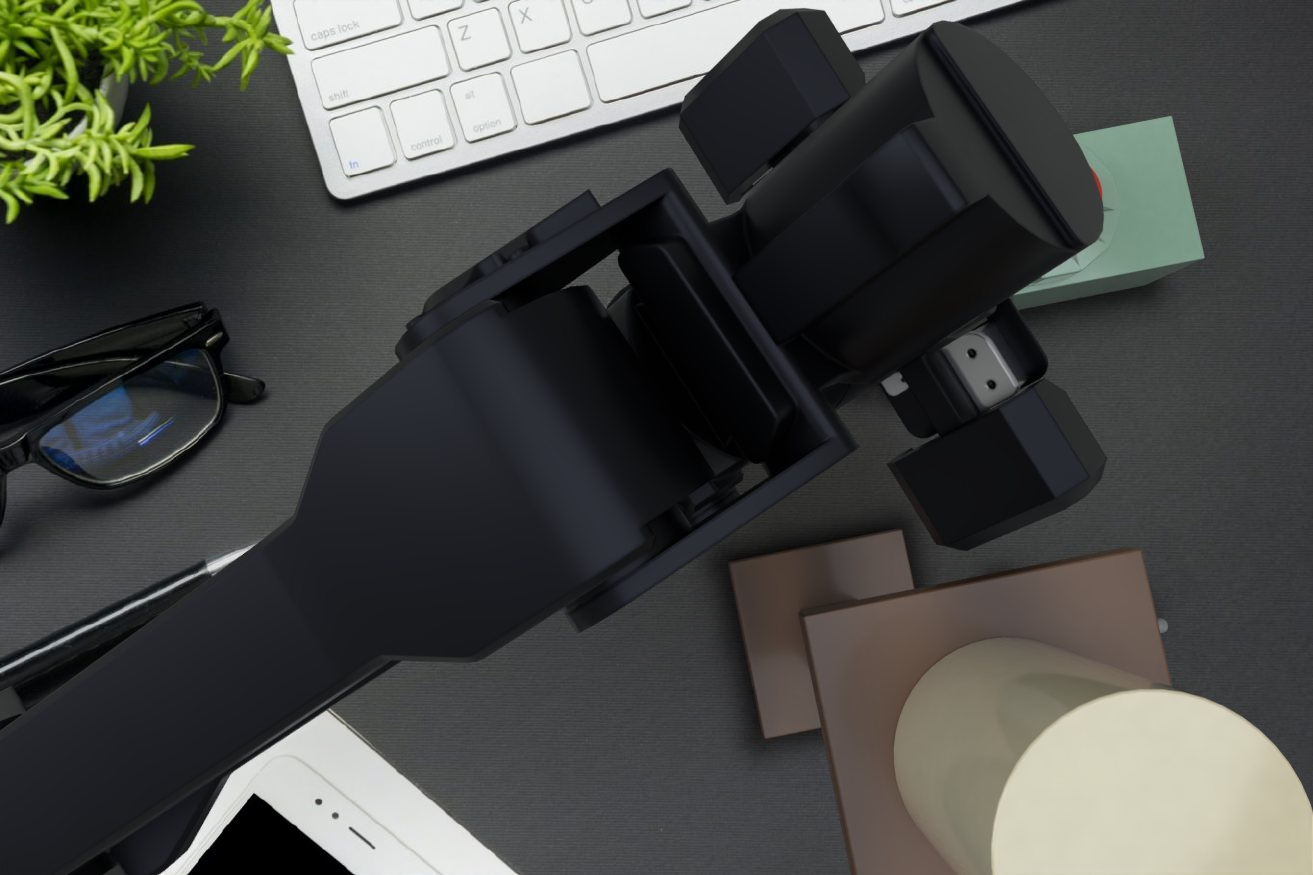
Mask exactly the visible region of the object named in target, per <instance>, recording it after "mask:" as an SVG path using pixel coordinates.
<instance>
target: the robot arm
mask: <svg viewBox="0 0 1313 875" xmlns="http://www.w3.org/2000/svg"><path fill="white" fill-rule="evenodd" d="M678 116H679V118H678V130H679V131H680V132H681V134H682V136H683V137H684V139H685V141H686V142H687V144H688V145H689V147H690V149H691V150H692V152H693V153H694V155H695V157H696V159H697V160H698V162H699V163H700V166H702V168H703V170H704V171H705V173H706V175H707V176H708V178H709V179H710V181H711V183H712V185H713V186H714V188H715V189H716V191H717V193H718V194H719V195H720V197H721V199H722V200H723V202H724V203H725V205H726V206H729V205H732V204H735V203H736V205H735V206H734V208H733V210H732V211H731V214H729V215H726V216H723V217H720V218H718V219H714V220H712V221H709V220H708V219H707V217H706V216H705V215H704V213H703V211H702V210H701V209H700V207H699V206H698V204H697V203H696V201H695V200H694V198H693V197H692V195H691V194H690V192H689V191H688V190H687V188H686V186H685V185H684V184H683V182H682V180H681V179H680V178H679V175H678V174H677V173H676V172H675V170H674V169H673V167H666V168H663V169H662V170H659V171H658V172H656V173H655V174H654V175H652V176H650V177H648V178H646V179H645V180H643V181H641V182H640V183H638V184H637V185H635V186H633V187H631V188H630V189H628V190H627V191H625V192H623V193H621V194H619V195H618V196H616V197H615V198H613V199H612V200H610V201H608V202H606V203H605V204H602V205H600V203H599V201H598V199H596V197H595V195H594V194H593V193H592V191H591V190H590V189H586V190H585V191H583V192H582V193H580V194H578V195H577V196H576V197H574V198H573V199H571V200H569V201H568V202H567V203H565V204H564V205H563V206H561V207H560V208H558V209H557V210H555V211H553V212H552V213H550V214H549V215H547V216H546V217H544V218H543V219H541V220H540V221H539V222H537V223H535V224H534V225H533V226H531V227H530V228H528V229H527V230H525V231H523V232H522V233H520V234H519V235H517V236H516V237H514V238H513V239H511V240H510V241H508V242H507V243H506V244H504V245H502V246H501V247H499V248H497V249H496V250H495V251H493V252H491V253H490V254H489V255H487V256H486V257H484V258H483V259H481V260H480V261H478V262H477V263H475V264H474V265H472V266H471V267H469V268H468V269H467V270H465V271H463V272H462V273H460V274H458V275H456V277H454V278H452V280H450V281H449V282H447V283H445V284H444V285H443V286H441V287H440V288H438V289H437V290H435V291H434V292H433V293H432V294H430V296H429V297H428V298H426V300H425V302H424V304H423V308H422V311H421V313H420V314H418V315H416V316H415V317H413V318H411V319H410V320H409V321H408V322H407V323H406V325H405V327H404V328H406V331H405V332H404V333H403V334H402V335H401V336H400V338H399V339H398V342H396V344H395V346H394V354H395V356H396V358H397V359H398V362H397V363H396V364H394V365H393V366H392V367H391V368H390V369H388V370H387V371H386V372H385V373H384V374H383V375H381V376H380V377H379V378H378V379H376V380H375V381H374V382H373V383H372V384H370V385H369V386H368V387H367V388H366V389H365V390H363V391H362V392H361V393H360V394H359V395H357V396H356V397H355V398H354V399H353V400H351V401H350V402H349V403H348V404H347V405H345V406H344V407H343V408H342V409H341V410H339V411H338V412H337V413H336V414H335V415H334V416H332V417H331V418H330V419H329V420H328V421H327V422H326V423H325V425H324V426H323V428H322V430H321V432H320V434H319V436H318V440H317V443H316V446H315V449H314V452H313V455H312V458H311V461H310V465H309V467H308V469H307V473H306V477H305V479H304V482H303V486H302V488H301V492H300V495H299V497H298V500H297V504H296V507H295V510H294V512H293V515H292V516H290V517H289V518H287V519H286V520H285V521H284V522H282V523H281V524H280V525H279V526H278V527H276V528H275V529H274V530H273V531H272V532H270V533H269V534H268V535H266V536H264V538H263V539H261V540H259V542H257V543H256V544H255V545H253V546H251V548H249V549H248V550H246V551H244V553H242V554H241V555H239V556H238V557H237V558H235V559H234V560H232V561H231V562H230V563H229V564H227V565H226V566H225V567H223V568H221V569H220V570H219V571H217V572H216V573H215V574H213V575H212V576H211V577H209V578H207V579H206V580H205V581H204V582H203V583H201V584H199V585H198V586H196V587H195V588H194V589H192V590H191V591H190V592H188V593H186V595H184V596H183V597H181V598H180V599H179V600H178V601H176V602H175V603H174V604H172V605H170V606H169V607H168V608H166V609H165V610H163V611H162V612H161V613H160V614H158V615H157V616H155V617H154V618H153V619H151V620H150V621H149V622H147V623H146V624H145V625H143V626H142V627H140V628H139V629H138V630H137V631H135V632H133V633H132V634H131V635H129V636H128V637H127V638H125V639H123V641H121V642H120V643H118V644H117V645H115V646H114V647H113V648H112V649H110V650H109V651H107V652H106V653H104V654H103V655H102V656H101V657H99V658H98V659H96V660H95V661H94V662H92V663H91V664H90V665H88V666H87V667H85V668H84V669H83V670H81V671H80V672H79V673H77V674H75V675H74V676H73V677H72V678H70V679H69V680H68V681H66V682H65V683H64V684H62V685H61V686H59V687H58V688H57V689H54V690H53V691H52V692H51V693H49V694H48V695H46V696H44V697H42V698H40V699H38V700H37V701H35V702H33V703H31V704H29V705H28V706H26V705H25V703H24V701H23V700H22V698H21V697H20V696H19V694H18V692H17V691H16V690H15V688H14V687H13V685H9V686H8V687H6V688H4V689H3V690H0V875H161V874H162V873H164V872H165V871H166V870H168V869H169V868H170V867H171V866H172V865H173V864H174V863H175V862H176V861H178V860H179V859H180V858H182V856H183V855H184V854H186V853H187V852H188V851H189V849H190V848H191V847H192V845H193V843H194V842H195V840H196V837H197V836H198V834H199V833H200V831H201V828H203V825H204V823H205V821H206V819H207V818H208V816H209V814H210V812H211V811H212V809H213V807H214V805H215V803H216V801H217V800H218V798H219V796H220V795H221V793H222V791H223V790H224V787H225V785H226V784H227V782H228V781H229V779H230V777H231V775H232V774H233V773H234V772H236V771H237V770H239V769H240V768H242V767H243V766H245V765H246V764H247V763H249V762H251V761H252V760H254V759H255V758H257V757H258V756H259V755H262V754H263V753H265V752H266V751H267V750H269V749H271V748H272V747H274V746H275V745H276V744H278V743H280V742H281V741H282V740H284V739H286V738H287V737H289V736H290V735H293V733H295V732H297V731H298V730H299V729H301V728H302V727H304V726H306V725H308V723H310V722H311V721H313V720H315V719H317V717H319V716H321V715H322V714H323V713H326V712H327V711H329V710H330V709H331V708H333V707H335V706H336V705H337V704H339V703H340V702H342V701H343V700H345V699H346V698H348V697H350V696H351V695H353V694H354V693H356V692H357V691H359V690H360V689H362V688H364V687H365V686H366V685H368V684H369V683H371V682H373V681H374V680H376V679H378V677H380V676H381V675H383V674H384V673H386V672H388V671H389V670H391V669H392V668H394V667H395V666H397V665H398V664H400V663H401V662H426V663H428V662H429V663H451V664H452V663H453V664H454V663H456V664H472V663H473V664H474V663H477V662H480V661H482V660H484V659H486V658H487V657H490V656H491V655H493V654H494V653H495V652H497V651H498V650H500V649H502V648H503V647H505V646H506V645H509V643H511V642H512V641H514V640H516V639H517V638H519V637H521V635H523V634H525V633H527V632H528V631H529V630H532V629H533V628H534V627H536V626H537V625H539V624H541V623H542V622H544V621H546V620H547V619H549V618H550V617H551V616H553V615H554V614H556V613H558V612H560V611H562V613H563V615H564V617H565V618H566V620H567V621H568V623H569V624H570V625H571V627H572V629H573V631H574V632H575V634H580V633H583V632H584V631H587V630H589V629H590V628H592V627H593V626H595V625H597V624H599V623H600V622H602V621H604V620H605V619H607V618H608V617H610V616H612V615H613V614H615V613H616V612H618V611H620V610H621V609H623V608H624V607H626V606H627V605H629V604H631V603H632V602H634V601H635V600H636V599H638V598H640V597H641V596H643V595H644V594H646V593H647V592H648V591H650V590H651V589H653V588H655V587H656V586H657V585H660V583H662V582H663V581H665V580H666V579H668V578H669V577H671V576H673V574H676V573H677V572H678V571H680V570H681V569H682V568H684V567H686V566H688V564H690V563H691V562H693V561H694V560H696V559H697V558H699V557H701V556H702V555H703V554H704V553H706V552H708V551H710V549H713V547H715V546H717V545H718V544H720V543H721V542H722V541H724V540H726V539H727V538H729V537H731V535H733V534H734V533H736V532H737V531H739V530H740V529H742V528H743V527H745V526H746V525H748V524H749V523H750V522H752V521H754V520H755V519H756V518H758V517H759V516H761V515H762V514H764V513H765V512H768V510H770V509H771V508H773V507H774V506H776V505H777V504H779V503H780V502H781V501H783V500H784V499H786V498H788V497H789V496H790V495H792V494H794V493H795V492H796V491H798V490H799V489H801V488H802V487H804V486H805V485H807V484H808V483H810V482H811V481H812V480H814V479H816V478H818V477H819V476H820V475H821V474H823V473H824V472H825V471H828V470H829V469H830V468H831V467H833V466H835V465H836V464H837V463H839V462H841V461H842V460H843V459H845V458H846V457H848V456H849V455H851V454H852V453H853V452H856V451H857V450H858V449H859V448H860V445H859V443H858V442H857V440H856V438H855V437H854V436H853V434H852V433H851V431H850V430H849V428H848V427H847V425H846V424H845V422H844V421H843V419H842V418H841V417H840V414H838V412H837V410H840V409H841V408H842V407H844V406H846V405H847V404H849V403H850V402H852V401H854V400H856V399H857V398H858V397H861V396H862V395H863V394H865V393H867V392H868V391H870V390H871V389H873V388H875V387H876V386H878V385H879V387H880V389H881V390H882V392H883V393H884V395H885V397H886V398H887V400H888V402H889V403H890V405H891V406H892V408H893V409H894V411H895V413H896V415H897V416H898V418H899V419H900V421H901V422H902V424H903V426H904V427H905V429H906V430H907V432H908V433H909V434H911V435H912V436H913V437H915V438H917V439H923V440H924V439H928V438H931V437H933V436H935V435H938V436H936V437H934V438H933V439H931V440H929V441H927V442H925V443H923V444H921V445H919V446H917V447H915V448H913V447H911V448H909V449H906V450H904V451H902V452H900V453H899V454H897V455H896V456H895V457H893V458H892V459H891V460H890V461H888V462H887V463H886V466H887V467H888V469H889V470H890V472H891V475H893V477H894V478H895V481H896V482H897V483H898V485H899V487H900V488H901V490H902V491H903V493H904V495H905V496H906V498H907V500H908V501H909V503H910V504H911V506H912V508H913V510H914V511H915V513H916V514H917V516H918V517H919V519H920V521H921V523H922V524H923V527H924V528H925V530H926V531H927V532H928V534H929V535H930V537H931V539H932V540H933V542H934V543H935V545H936V546H941V547H945V548H949V549H954V550H958V551H962V552H963V551H964V552H968V551H970V550H973V549H975V548H977V547H980V546H982V545H985V544H987V543H989V542H991V541H994V540H996V539H999V538H1001V537H1004V536H1006V535H1009V534H1010V533H1014V532H1016V531H1018V530H1020V529H1022V528H1025V527H1027V526H1030V525H1032V524H1034V523H1037V522H1039V521H1042V520H1044V519H1046V518H1049V517H1051V516H1053V515H1056V514H1058V513H1061V512H1062V511H1065V510H1067V509H1069V507H1072V506H1073V505H1075V504H1077V503H1078V502H1079V501H1081V500H1083V499H1085V498H1086V497H1088V495H1089V494H1090V493H1091V492H1092V491H1093V489H1094V488H1095V487H1096V486H1097V485H1098V484H1099V483H1100V482H1101V481H1102V479H1103V476H1104V472H1105V468H1106V464H1107V462H1108V457H1107V455H1106V453H1105V451H1104V450H1103V448H1102V447H1101V446H1100V444H1099V442H1098V440H1097V439H1096V437H1095V436H1094V434H1093V433H1092V431H1091V430H1090V428H1089V426H1088V425H1087V423H1086V421H1085V419H1084V418H1083V416H1081V414H1080V412H1079V411H1078V409H1077V407H1076V406H1075V404H1074V403H1073V401H1072V400H1071V398H1070V396H1069V395H1068V393H1067V392H1066V391H1065V390H1064V389H1063V388H1061V387H1059V386H1058V385H1056V384H1055V383H1053V382H1052V381H1050V380H1049V379H1048V378H1046V377H1044V376H1045V375H1046V373H1047V371H1048V368H1049V358H1048V356H1047V354H1046V352H1045V350H1044V349H1043V347H1042V346H1041V344H1040V343H1039V341H1038V339H1037V338H1036V336H1035V335H1034V332H1032V330H1031V328H1030V326H1029V325H1028V324H1027V322H1026V320H1025V319H1024V317H1023V316H1022V314H1021V313H1020V310H1018V309H1017V308H1016V306H1015V305H1014V303H1013V295H1014V294H1015V293H1017V292H1019V291H1020V290H1022V289H1023V288H1025V287H1026V286H1028V285H1029V284H1031V283H1033V282H1034V281H1036V280H1037V279H1039V278H1040V277H1042V276H1043V275H1045V274H1047V273H1048V272H1050V271H1051V270H1053V269H1054V268H1056V267H1057V266H1059V265H1061V264H1062V263H1064V262H1065V261H1067V260H1068V259H1070V258H1071V257H1073V256H1075V255H1076V254H1078V253H1079V252H1081V251H1082V250H1084V249H1085V248H1087V247H1089V246H1090V245H1092V244H1093V243H1095V242H1096V241H1097V240H1098V238H1099V236H1100V235H1101V233H1102V231H1103V223H1104V212H1103V201H1102V198H1101V195H1100V192H1099V189H1098V186H1097V183H1096V180H1095V178H1094V175H1093V172H1092V170H1091V168H1090V166H1089V164H1088V162H1087V160H1086V158H1085V155H1084V153H1083V151H1082V149H1081V147H1080V146H1079V144H1078V142H1077V141H1076V139H1075V137H1074V136H1073V135H1074V134H1073V132H1072V131H1071V128H1069V126H1068V124H1067V122H1066V121H1065V119H1064V118H1063V117H1062V115H1061V114H1060V112H1059V111H1058V110H1057V108H1056V107H1055V105H1054V104H1053V103H1052V101H1051V100H1050V99H1049V97H1047V95H1046V94H1045V92H1043V91H1042V89H1041V88H1040V87H1039V86H1038V84H1037V83H1036V81H1035V80H1033V79H1032V77H1031V76H1030V75H1029V74H1028V73H1027V72H1026V71H1025V70H1024V69H1023V68H1022V67H1021V66H1020V65H1019V63H1017V61H1015V60H1014V59H1013V58H1012V57H1011V56H1010V55H1009V54H1007V53H1006V52H1005V51H1004V50H1003V49H1001V48H1000V47H999V46H998V45H997V44H996V43H995V42H993V41H991V39H988V38H987V37H986V36H984V35H983V34H981V33H980V32H979V31H977V30H975V29H973V28H971V27H969V26H967V25H964V24H963V23H960V22H957V21H951V20H943V19H942V20H939V21H935V22H933V23H932V24H930V25H929V26H928V27H927V28H926V29H925V30H923V31H922V32H921V33H920V34H919V35H918V36H917V37H916V38H914V39H913V41H911V42H910V43H909V44H908V45H907V46H905V47H904V48H903V49H902V50H901V51H900V52H899V53H898V54H897V55H896V56H895V57H894V58H892V59H891V61H889V62H888V63H887V64H886V65H884V66H883V68H882V69H880V70H879V71H878V72H877V73H876V74H875V75H874V76H872V77H871V79H870V80H868V82H866V73H865V72H864V70H863V68H862V67H861V66H860V63H859V62H858V61H857V59H856V57H855V56H854V54H853V53H852V51H851V49H850V48H849V46H848V45H847V43H846V42H845V40H844V39H843V37H842V36H841V34H840V32H839V31H838V29H837V28H836V26H835V24H834V23H833V21H832V20H831V18H830V16H829V15H828V14H827V12H826V10H824V9H817V8H807V7H795V8H779V9H777V10H776V11H774V12H772V13H771V14H769V15H768V16H765V17H764V18H761V19H760V20H759V21H757V23H756V24H755V25H754V26H753V27H752V28H751V29H750V30H749V31H748V32H747V33H746V34H745V35H744V36H742V37H741V39H740V40H739V41H738V42H737V43H736V44H734V46H733V47H732V48H731V49H730V50H729V51H728V52H727V53H726V54H725V55H724V56H723V57H722V58H721V59H720V60H719V61H717V63H716V64H715V65H714V66H713V67H712V68H711V69H710V70H709V71H708V72H706V74H705V75H704V76H703V77H702V78H701V79H700V80H699V81H698V82H697V83H696V84H695V85H694V86H693V87H692V88H691V89H690V90H689V91H688V92H687V93H686V94H685V95H684V97H683V101H682V105H681V108H680V112H679V114H678ZM617 251H618V252H619V253H618V255H617V265H618V268H619V270H620V271H621V273H622V275H623V276H624V277H625V279H626V280H627V282H628V283H629V284H627V285H626V286H624V287H622V289H620V290H619V291H618V292H617V293H616V294H615V296H614V297H613V298H612V299H611V301H609V303H608V304H607V305H606V306H607V307H606V306H604V304H603V302H602V301H601V299H600V298H599V296H598V295H597V293H596V292H595V290H594V289H593V288H592V287H591V286H589V284H583V285H571V286H568V285H570V284H571V283H573V282H574V281H576V280H578V279H579V277H581V276H582V275H584V274H585V273H586V272H588V271H589V270H591V269H592V268H594V267H595V266H597V265H598V264H600V263H601V262H602V261H603V260H605V259H606V258H607V257H609V256H611V255H612V254H613V253H615V252H617ZM1024 388H1025V389H1024ZM1022 389H1023V390H1022ZM1021 390H1022V391H1021ZM1020 391H1021V392H1020ZM751 464H755V465H761V467H762V468H763V470H764V471H765V473H766V475H767V476H768V477H765V479H763V480H761V481H760V482H758V483H757V484H756V485H754V486H752V487H751V488H749V489H748V490H746V491H745V492H743V493H740V492H739V491H738V489H737V488H736V486H737V485H739V484H740V483H741V482H742V481H744V475H745V473H744V472H743V469H744V468H746V467H747V466H749V465H751Z"/></svg>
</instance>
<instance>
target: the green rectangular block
mask: <svg viewBox="0 0 1313 875" xmlns="http://www.w3.org/2000/svg"><path fill="white" fill-rule="evenodd" d="M1073 136H1074V137H1075V139H1076V141H1077V142H1078V144H1079V146H1080V147H1081V149H1082V151H1083V153H1084V155H1085V158H1086V160H1087V162H1088V164H1089V166H1090V167H1091V168H1092V169H1093V170H1094V172H1095V173H1096V175H1097V176H1098V178H1099V181H1100V183H1101V187H1102V196H1103V198H1102V201H1103V212H1104V223H1103V231H1102V233H1101V235H1100V236H1099V238H1098V240H1097V241H1096V242H1095V243H1093V244H1092V245H1090V246H1089V247H1087V248H1085V249H1084V250H1082V251H1081V252H1079V253H1078V254H1076V255H1075V256H1073V257H1071V258H1070V259H1068V260H1067V261H1065V262H1064V263H1062V264H1061V265H1059V266H1057V267H1056V268H1054V269H1053V270H1051V271H1050V272H1048V273H1047V274H1045V275H1043V276H1042V277H1040V278H1039V279H1037V280H1036V281H1034V282H1033V283H1031V284H1029V285H1028V286H1026V287H1025V288H1023V289H1022V290H1020V291H1019V292H1017V293H1015V294H1014V295H1013V303H1014V305H1015V306H1016V308H1017V309H1018V311H1020V310H1025V309H1030V308H1031V309H1032V308H1036V307H1041V306H1045V305H1051V304H1055V303H1060V302H1066V301H1070V300H1071V301H1073V300H1076V299H1083V298H1087V297H1092V296H1097V295H1102V294H1108V293H1111V292H1112V293H1113V292H1119V291H1122V290H1127V289H1129V290H1130V289H1133V288H1139V287H1143V286H1146V285H1149V284H1151V283H1153V282H1156V281H1157V280H1160V279H1162V278H1164V277H1167V276H1169V275H1171V274H1174V273H1176V272H1178V271H1179V270H1180V271H1181V269H1185V268H1186V267H1188V266H1190V265H1193V264H1196V263H1197V262H1199V261H1201V260H1203V259H1205V258H1206V257H1205V253H1204V249H1203V244H1202V239H1201V235H1200V232H1199V231H1200V230H1199V228H1198V223H1197V218H1196V214H1195V210H1194V205H1193V202H1192V197H1191V193H1190V192H1191V191H1190V189H1189V184H1188V179H1187V175H1186V172H1185V167H1184V164H1183V158H1182V154H1181V150H1180V145H1179V141H1178V137H1177V132H1176V128H1175V125H1174V119H1173V116H1172V115H1169V116H1163V117H1158V118H1153V119H1147V120H1143V121H1142V120H1141V121H1137V122H1131V123H1127V124H1121V125H1117V126H1116V125H1115V126H1112V127H1105V128H1101V129H1095V130H1090V131H1086V132H1080V133H1074V134H1073Z"/></svg>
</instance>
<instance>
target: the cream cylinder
mask: <svg viewBox="0 0 1313 875" xmlns="http://www.w3.org/2000/svg"><path fill="white" fill-rule="evenodd" d="M894 768H895V775H896V781H897V784H898V788H899V792H900V795H901V797H902V800H903V802H904V805H905V807H906V809H907V811H908V813H909V814H910V816H911V818H912V820H913V821H914V823H915V824H916V826H917V827H918V828H919V830H920V831H921V832H922V834H923V835H924V836H925V837H926V838H927V840H928V841H929V842H930V843H931V845H932V846H933V847H934V848H935V849H936V851H937V852H938V853H939V854H940V855H941V857H942V858H943V859H944V860H945V861H946V863H947V864H948V865H949V866H950V867H951V869H952V870H953V871H954V872H955V874H956V875H1313V808H1312V805H1311V801H1310V799H1309V797H1308V795H1307V793H1306V790H1305V788H1304V786H1303V783H1302V782H1301V780H1300V778H1299V777H1298V775H1297V773H1296V772H1295V770H1294V768H1293V767H1292V765H1291V763H1290V762H1289V760H1288V759H1287V758H1286V757H1285V755H1284V754H1283V753H1282V752H1281V750H1280V749H1279V748H1278V746H1277V745H1276V744H1275V743H1274V742H1273V741H1272V740H1271V739H1270V738H1269V737H1268V736H1267V735H1266V734H1265V733H1264V732H1262V730H1260V729H1259V727H1257V726H1256V725H1254V724H1253V723H1252V722H1250V721H1249V720H1247V718H1245V717H1243V716H1242V715H1241V714H1239V713H1237V712H1235V711H1234V710H1232V709H1230V708H1228V707H1226V706H1225V705H1223V704H1220V703H1218V702H1215V701H1213V700H1211V699H1208V698H1207V697H1204V696H1201V695H1198V694H1195V693H1192V692H1189V691H1186V690H1183V689H1180V688H1177V687H1176V686H1175V687H1174V686H1173V685H1172V686H1169V685H1166V684H1163V683H1160V682H1157V681H1154V680H1151V679H1148V678H1146V677H1143V676H1140V675H1137V674H1134V673H1131V672H1128V671H1125V670H1122V669H1119V668H1116V667H1113V666H1111V665H1108V664H1105V663H1102V662H1099V661H1096V660H1093V659H1090V658H1087V657H1084V656H1081V655H1078V654H1075V653H1073V652H1070V651H1067V650H1064V649H1061V648H1058V647H1055V646H1052V645H1049V644H1046V643H1043V642H1039V641H1035V640H1031V639H1024V638H1013V637H1001V638H993V639H986V640H982V641H979V642H975V643H971V644H969V645H966V646H964V647H962V648H959V649H957V650H955V651H954V652H952V653H950V654H949V655H947V656H945V657H944V658H942V659H941V660H940V661H939V662H937V663H936V664H935V665H933V666H932V667H931V668H930V669H929V670H928V671H927V672H926V673H925V674H924V675H923V676H922V678H921V679H920V680H919V682H918V683H917V684H916V686H915V687H914V688H913V690H912V691H911V693H910V695H909V697H908V699H907V700H906V702H905V704H904V707H903V709H902V712H901V714H900V717H899V721H898V725H897V729H896V733H895V741H894Z"/></svg>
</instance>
